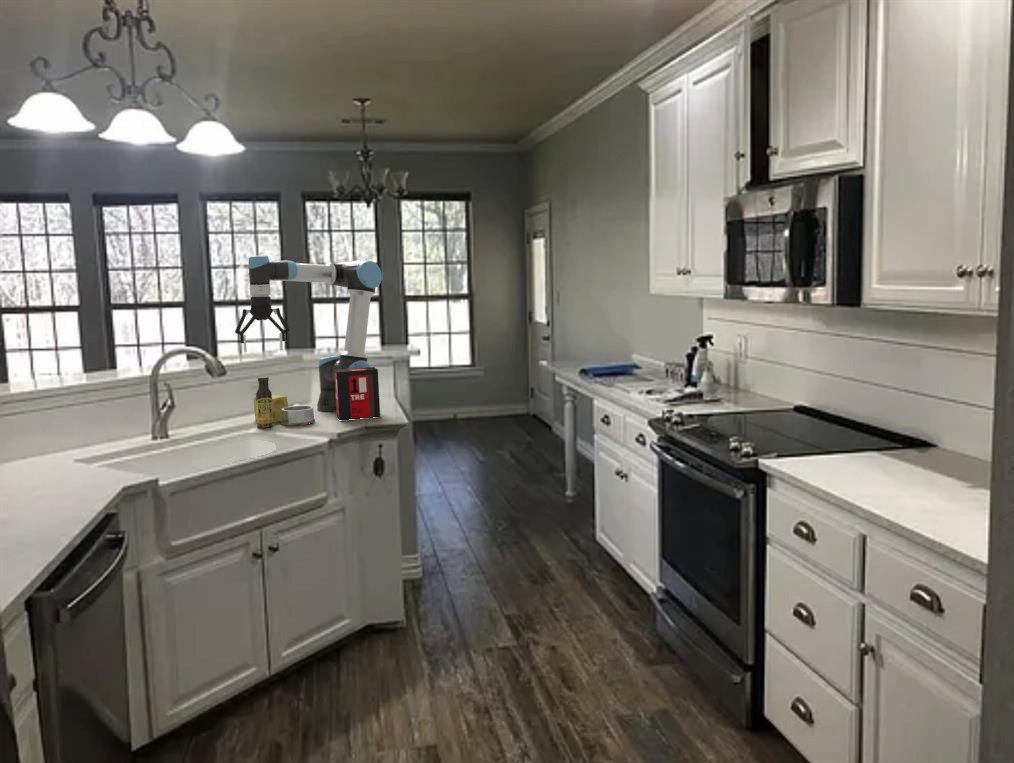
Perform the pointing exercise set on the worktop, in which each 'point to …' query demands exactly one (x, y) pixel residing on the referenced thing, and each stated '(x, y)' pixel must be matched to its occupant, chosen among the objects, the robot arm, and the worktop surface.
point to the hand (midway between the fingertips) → (263, 351)
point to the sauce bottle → (264, 404)
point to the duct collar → (297, 414)
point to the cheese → (276, 406)
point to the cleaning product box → (357, 393)
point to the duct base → (297, 423)
